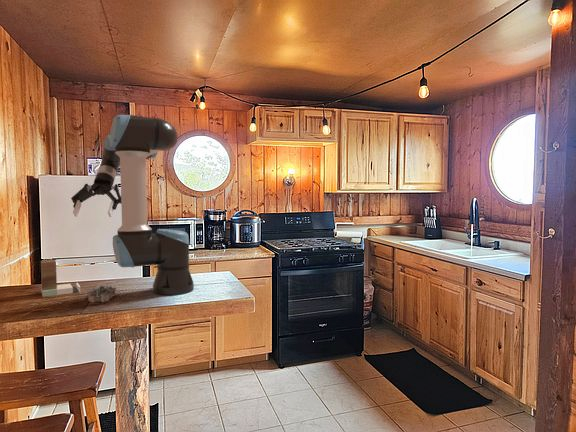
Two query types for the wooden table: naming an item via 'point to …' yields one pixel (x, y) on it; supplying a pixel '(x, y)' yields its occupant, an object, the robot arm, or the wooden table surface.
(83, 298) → the wooden table surface
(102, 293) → the egg carton
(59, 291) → the board
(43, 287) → the walnut block
